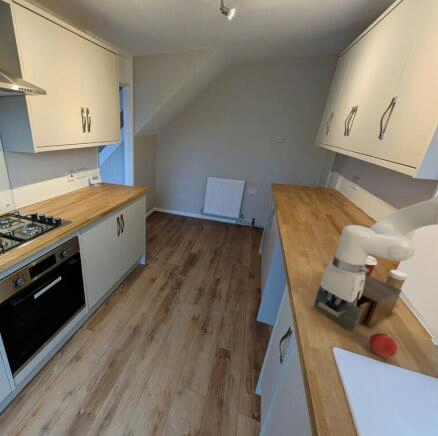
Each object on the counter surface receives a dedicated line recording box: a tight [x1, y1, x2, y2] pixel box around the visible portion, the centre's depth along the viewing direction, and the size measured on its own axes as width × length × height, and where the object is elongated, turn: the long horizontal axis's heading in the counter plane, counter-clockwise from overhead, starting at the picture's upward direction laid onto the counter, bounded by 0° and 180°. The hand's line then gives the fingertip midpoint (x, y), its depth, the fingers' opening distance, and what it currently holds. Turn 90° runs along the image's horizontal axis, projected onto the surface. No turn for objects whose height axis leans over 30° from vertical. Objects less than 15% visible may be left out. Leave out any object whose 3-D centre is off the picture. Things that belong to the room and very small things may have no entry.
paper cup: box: [364, 254, 378, 276], centre depth 99 cm, size 8×8×14 cm
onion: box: [368, 333, 398, 358], centre depth 69 cm, size 6×6×8 cm
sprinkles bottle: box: [385, 269, 408, 290], centre depth 90 cm, size 5×5×14 cm
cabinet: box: [360, 274, 402, 328], centre depth 87 cm, size 16×14×10 cm
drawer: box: [313, 287, 374, 332], centre depth 83 cm, size 19×13×8 cm, turn 115°
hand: (331, 310), depth 81 cm, fingers closed
